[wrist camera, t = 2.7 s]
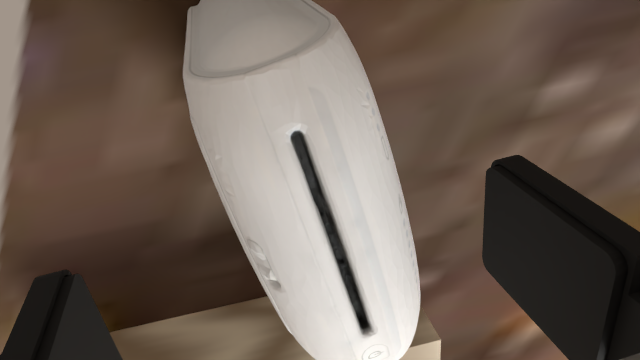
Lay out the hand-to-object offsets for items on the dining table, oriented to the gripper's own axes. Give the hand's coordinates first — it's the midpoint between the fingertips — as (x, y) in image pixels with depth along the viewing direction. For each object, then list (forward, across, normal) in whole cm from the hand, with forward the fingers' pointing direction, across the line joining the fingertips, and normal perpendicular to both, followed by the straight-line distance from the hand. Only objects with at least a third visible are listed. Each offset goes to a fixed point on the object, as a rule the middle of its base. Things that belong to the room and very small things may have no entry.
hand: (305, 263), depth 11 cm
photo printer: (+12, -1, 0) cm, 12 cm away
